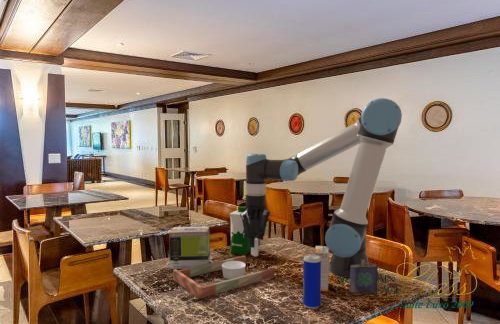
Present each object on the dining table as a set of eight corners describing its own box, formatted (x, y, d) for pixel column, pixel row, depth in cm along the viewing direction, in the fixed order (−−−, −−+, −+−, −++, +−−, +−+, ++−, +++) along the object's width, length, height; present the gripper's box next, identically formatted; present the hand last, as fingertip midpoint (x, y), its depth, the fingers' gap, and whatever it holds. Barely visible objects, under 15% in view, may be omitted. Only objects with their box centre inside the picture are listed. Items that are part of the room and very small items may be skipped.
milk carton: (253, 250, 164) (253, 206, 163) (245, 256, 156) (245, 210, 155) (236, 248, 168) (236, 205, 167) (227, 253, 159) (227, 208, 158)
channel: (274, 276, 132) (274, 267, 132) (198, 298, 114) (198, 287, 114) (244, 262, 148) (244, 253, 147) (173, 279, 129) (173, 269, 129)
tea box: (210, 260, 150) (210, 225, 149) (208, 269, 140) (208, 231, 139) (173, 261, 150) (173, 225, 149) (169, 269, 140) (168, 231, 139)
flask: (351, 294, 117) (351, 261, 117) (347, 290, 120) (348, 258, 120) (378, 293, 118) (379, 260, 118) (374, 289, 121) (375, 258, 121)
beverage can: (307, 300, 113) (308, 252, 112) (323, 304, 110) (323, 255, 109) (300, 306, 108) (300, 257, 108) (316, 311, 105) (316, 260, 105)
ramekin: (222, 272, 137) (221, 260, 137) (245, 271, 138) (245, 260, 138) (221, 281, 128) (221, 269, 128) (246, 280, 129) (246, 268, 129)
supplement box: (328, 292, 119) (329, 253, 118) (313, 291, 120) (314, 252, 119) (328, 282, 127) (328, 245, 126) (314, 281, 128) (314, 245, 127)
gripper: (262, 191, 144) (261, 249, 146) (235, 194, 137) (235, 255, 138) (275, 194, 138) (273, 254, 140) (247, 197, 131) (246, 261, 132)
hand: (254, 255), depth 139 cm, fingers closed
